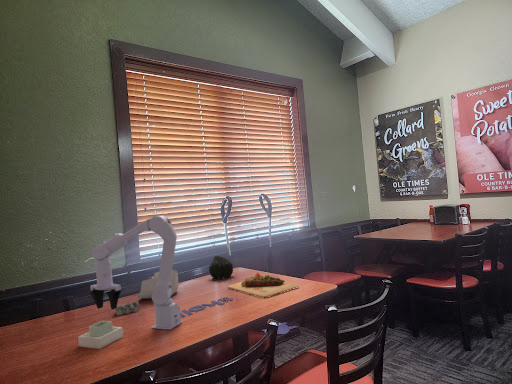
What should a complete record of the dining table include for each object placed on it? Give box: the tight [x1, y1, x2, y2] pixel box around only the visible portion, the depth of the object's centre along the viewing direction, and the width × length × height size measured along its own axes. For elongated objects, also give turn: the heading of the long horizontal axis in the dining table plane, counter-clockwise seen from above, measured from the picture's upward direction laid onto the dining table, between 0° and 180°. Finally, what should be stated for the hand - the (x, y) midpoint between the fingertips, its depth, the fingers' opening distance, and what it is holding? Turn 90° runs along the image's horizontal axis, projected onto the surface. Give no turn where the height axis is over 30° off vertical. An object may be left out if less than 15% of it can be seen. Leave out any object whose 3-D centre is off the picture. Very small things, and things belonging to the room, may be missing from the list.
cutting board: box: [227, 272, 299, 298], centre depth 179 cm, size 35×23×8 cm
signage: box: [180, 296, 234, 318], centre depth 155 cm, size 28×1×10 cm
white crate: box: [77, 326, 124, 350], centre depth 124 cm, size 11×11×4 cm
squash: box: [208, 255, 234, 280], centre depth 214 cm, size 14×15×15 cm
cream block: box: [137, 269, 179, 299], centre depth 185 cm, size 20×19×12 cm
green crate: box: [88, 320, 114, 338], centre depth 125 cm, size 5×6×6 cm
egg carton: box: [114, 300, 140, 316], centre depth 160 cm, size 11×8×4 cm
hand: (107, 308), depth 134 cm, fingers open, 7 cm apart
